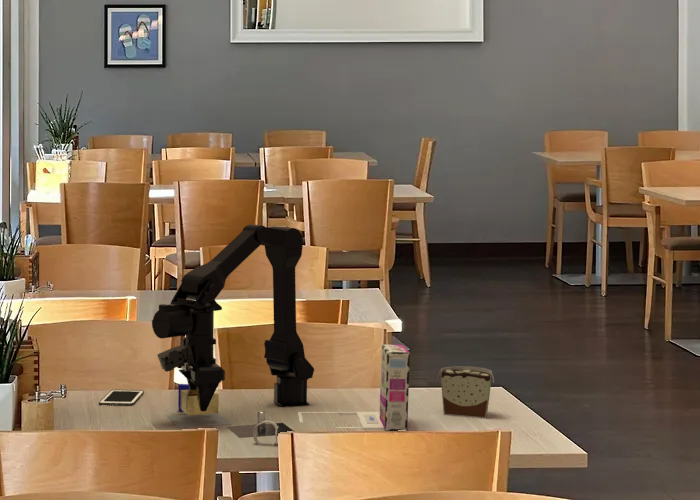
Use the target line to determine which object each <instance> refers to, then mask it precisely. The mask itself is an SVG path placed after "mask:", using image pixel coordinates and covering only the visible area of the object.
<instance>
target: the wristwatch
mask: <svg viewBox="0 0 700 500" xmlns="http://www.w3.org/2000/svg"><path fill="white" fill-rule="evenodd" d="M263 423H266V424H272V425H273V426H274V427H275V436H274V437H275V442H274V443H273V444H272V446H275V445H276V444H278V443H277V436H278V433H280V429H279V427H278V426H277V424H276V423H277V422H274V421H272V420H266V421H263V422H261V423H259V424H258V423H257V425H256V424H255V425H256V426H255V428H254V430H253V437H252V438H253V441H254V443H255V444H256V445H262V442H261V441H259V440H258V437H257V431H256V428H257V426H258V425H261V424H263Z"/></svg>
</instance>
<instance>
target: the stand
mask: <svg viewBox="0 0 700 500" xmlns="http://www.w3.org/2000/svg"><path fill="white" fill-rule="evenodd" d="M266 418H267V412H266V411H264V410H260V411H259V410H258V411H257V424H259V423H261V422H263V421H267V419H266ZM275 423H276V424H277V426H278V427H279V429H280V432H287V431H294V429H292V428H290V427H289V426H288V425H286V424H285V423H284V422H275ZM257 424H246V425H245V424H244V425H243V424H242V425H225V426H226V428H227V429H229V430H230V432H232V433H233V434H234V435H235V436H237V437H238V439H245V438H254V437H253V430H254V428H255V426H256V425H257ZM256 431H257V438H258V437H260V438H261V437H273V436H274V437H275V427H274V426H273V425H272V424H270V423H263V424H261V425H258V426H257V428H256Z"/></svg>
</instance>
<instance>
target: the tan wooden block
mask: <svg viewBox="0 0 700 500" xmlns="http://www.w3.org/2000/svg"><path fill="white" fill-rule="evenodd" d="M219 395H220V393H218V392H215V393H214V395H213V397H212V399H211V401H210V404H209V406H208V408H207V410H206V411H201V410H200V405H199V398H198V392H197V389H191V390H181V410H182V411H183V412H182V413H184V415H204V414H220V413H219V411H220V410H219V409H220V408H219V406H220V404H219V399H220V397H219Z"/></svg>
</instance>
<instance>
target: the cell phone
mask: <svg viewBox="0 0 700 500" xmlns="http://www.w3.org/2000/svg"><path fill="white" fill-rule="evenodd" d="M144 394H145V390H143V389H142V390H141V389H110V391H109V392H108V393H107V394H105V396H104V397H102V398H101V399H100V401H99V402H98V405H99V407H100V406H102V405H109V407H113V406H115V407H125V406H126V407H133V406H135V405H136V404H137V402H138V401H139V400H140V398H142V397H143V396H144ZM141 396H142V397H141ZM110 405H111V406H110ZM112 405H113V406H112Z"/></svg>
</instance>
